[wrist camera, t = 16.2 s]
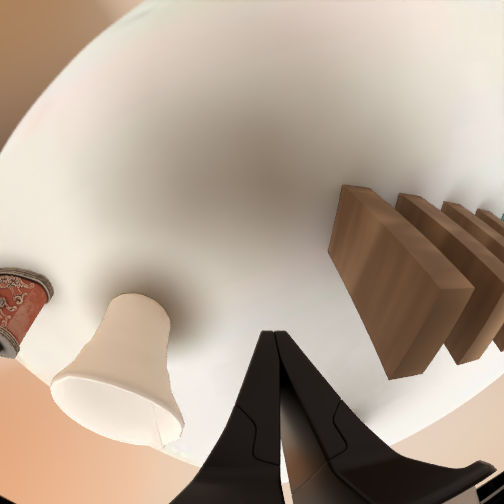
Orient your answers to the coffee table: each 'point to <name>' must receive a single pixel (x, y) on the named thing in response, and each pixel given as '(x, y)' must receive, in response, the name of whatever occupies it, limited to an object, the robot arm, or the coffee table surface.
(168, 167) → the coffee table surface
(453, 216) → the brown wooden block
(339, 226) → the tile
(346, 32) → the coffee table surface
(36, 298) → the lighter
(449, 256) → the brown wooden plank
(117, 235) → the coffee table surface
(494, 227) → the tile
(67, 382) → the cup
